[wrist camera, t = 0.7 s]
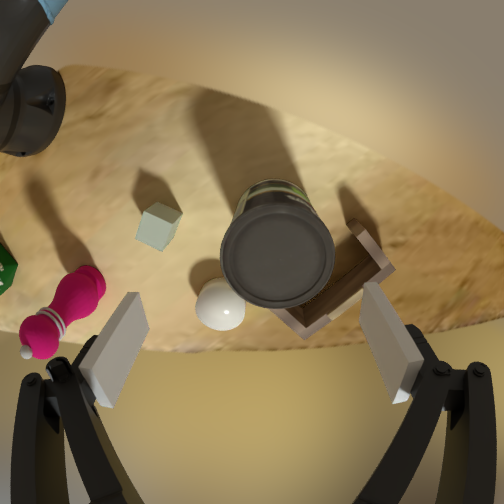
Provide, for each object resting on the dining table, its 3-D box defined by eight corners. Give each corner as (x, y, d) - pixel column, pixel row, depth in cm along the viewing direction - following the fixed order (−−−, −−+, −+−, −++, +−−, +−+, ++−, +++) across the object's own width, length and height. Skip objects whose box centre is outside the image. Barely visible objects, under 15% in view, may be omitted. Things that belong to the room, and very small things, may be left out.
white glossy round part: (190, 296, 45) (185, 308, 42) (221, 268, 43) (218, 279, 39) (224, 324, 46) (221, 338, 43) (256, 299, 44) (255, 312, 41)
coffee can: (281, 162, 37) (290, 178, 24) (327, 223, 39) (355, 269, 26) (218, 210, 39) (195, 250, 26) (266, 266, 42) (267, 327, 29)
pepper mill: (67, 267, 44) (-5, 334, 25) (97, 257, 43) (20, 329, 24) (86, 303, 46) (25, 377, 28) (115, 296, 45) (54, 378, 27)
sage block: (148, 226, 41) (134, 238, 36) (157, 201, 39) (143, 210, 35) (173, 238, 41) (162, 251, 37) (183, 213, 40) (172, 224, 35)
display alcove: (268, 289, 44) (268, 309, 39) (354, 217, 39) (366, 230, 34) (301, 320, 45) (304, 341, 40) (383, 254, 41) (396, 270, 36)
